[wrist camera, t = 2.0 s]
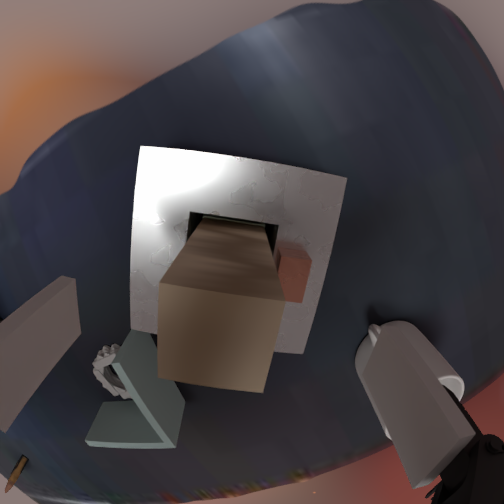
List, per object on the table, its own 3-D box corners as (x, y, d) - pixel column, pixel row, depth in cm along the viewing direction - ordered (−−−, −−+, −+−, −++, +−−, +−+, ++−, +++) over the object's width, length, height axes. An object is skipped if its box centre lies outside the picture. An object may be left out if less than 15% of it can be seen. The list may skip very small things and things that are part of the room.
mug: (391, 281, 28) (448, 335, 18) (425, 348, 31) (469, 401, 21) (324, 331, 29) (355, 403, 19) (370, 388, 32) (400, 451, 22)
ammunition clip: (22, 454, 40) (5, 487, 29) (28, 458, 40) (11, 492, 29) (17, 461, 42) (2, 490, 31) (22, 465, 42) (7, 495, 31)
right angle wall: (143, 319, 29) (119, 362, 21) (185, 400, 32) (176, 447, 25) (62, 334, 29) (31, 370, 22) (107, 406, 33) (89, 445, 26)
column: (201, 259, 27) (155, 378, 11) (208, 208, 25) (156, 279, 10) (253, 267, 27) (264, 394, 12) (262, 216, 26) (289, 299, 10)
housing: (150, 297, 28) (122, 342, 20) (163, 148, 24) (129, 144, 16) (292, 318, 29) (307, 369, 21) (324, 174, 25) (357, 179, 17)
